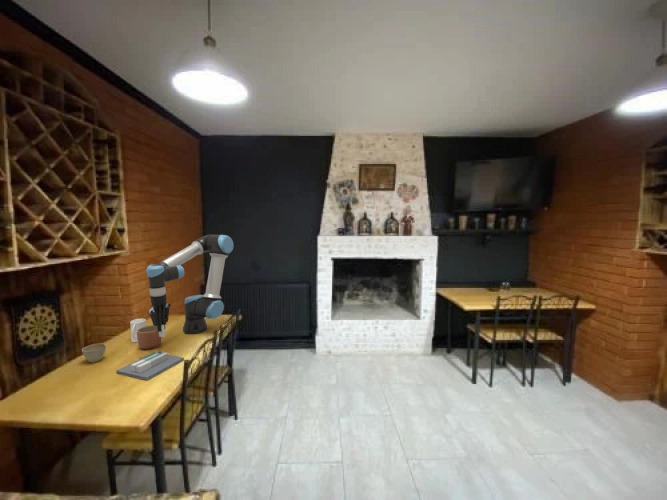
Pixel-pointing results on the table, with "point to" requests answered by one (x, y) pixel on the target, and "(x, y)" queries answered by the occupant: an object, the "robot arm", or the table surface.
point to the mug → (136, 328)
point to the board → (152, 370)
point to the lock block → (146, 355)
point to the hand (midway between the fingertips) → (162, 336)
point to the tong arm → (133, 366)
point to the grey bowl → (94, 352)
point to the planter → (148, 337)
